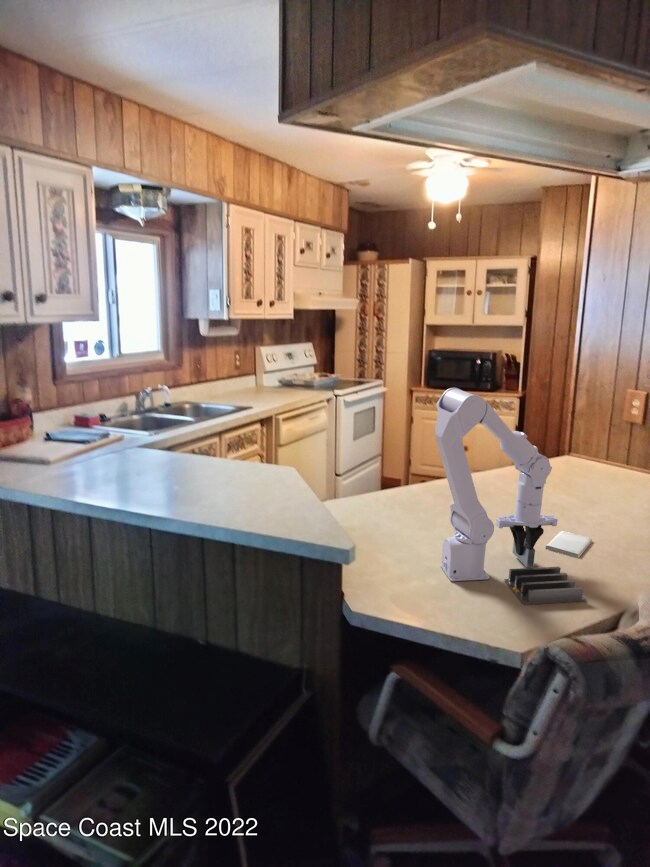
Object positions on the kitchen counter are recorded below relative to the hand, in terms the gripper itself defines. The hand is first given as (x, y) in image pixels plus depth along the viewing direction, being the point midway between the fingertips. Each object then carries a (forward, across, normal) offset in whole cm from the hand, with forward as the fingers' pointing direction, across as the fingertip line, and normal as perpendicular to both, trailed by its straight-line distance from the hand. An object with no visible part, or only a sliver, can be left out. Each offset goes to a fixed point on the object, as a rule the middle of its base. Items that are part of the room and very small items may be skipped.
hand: (523, 553), depth 147 cm
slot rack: (+3, -1, -13) cm, 13 cm away
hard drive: (+3, +17, +9) cm, 19 cm away
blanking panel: (+2, 0, 0) cm, 2 cm away
